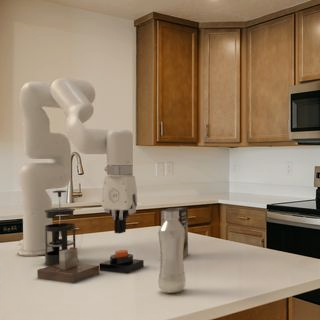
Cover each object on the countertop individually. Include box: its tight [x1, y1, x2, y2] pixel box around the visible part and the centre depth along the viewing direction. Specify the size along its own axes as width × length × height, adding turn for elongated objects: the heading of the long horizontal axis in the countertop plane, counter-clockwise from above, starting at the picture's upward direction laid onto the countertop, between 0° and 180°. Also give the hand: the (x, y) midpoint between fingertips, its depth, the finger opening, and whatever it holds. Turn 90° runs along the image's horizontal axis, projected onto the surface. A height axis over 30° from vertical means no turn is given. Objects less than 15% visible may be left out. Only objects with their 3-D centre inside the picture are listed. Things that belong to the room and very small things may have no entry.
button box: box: [98, 253, 145, 275], centre depth 135 cm, size 10×8×4 cm
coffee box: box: [160, 207, 189, 259], centre depth 150 cm, size 9×6×16 cm
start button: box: [114, 249, 129, 257], centre depth 135 cm, size 4×4×2 cm
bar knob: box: [59, 246, 79, 270], centre depth 127 cm, size 5×2×5 cm, turn 156°
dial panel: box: [36, 262, 100, 284], centre depth 127 cm, size 13×10×3 cm
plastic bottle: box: [157, 210, 186, 294], centre depth 112 cm, size 6×7×20 cm
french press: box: [44, 189, 76, 267], centre depth 144 cm, size 12×9×23 cm
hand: (120, 232), depth 135 cm, fingers closed
